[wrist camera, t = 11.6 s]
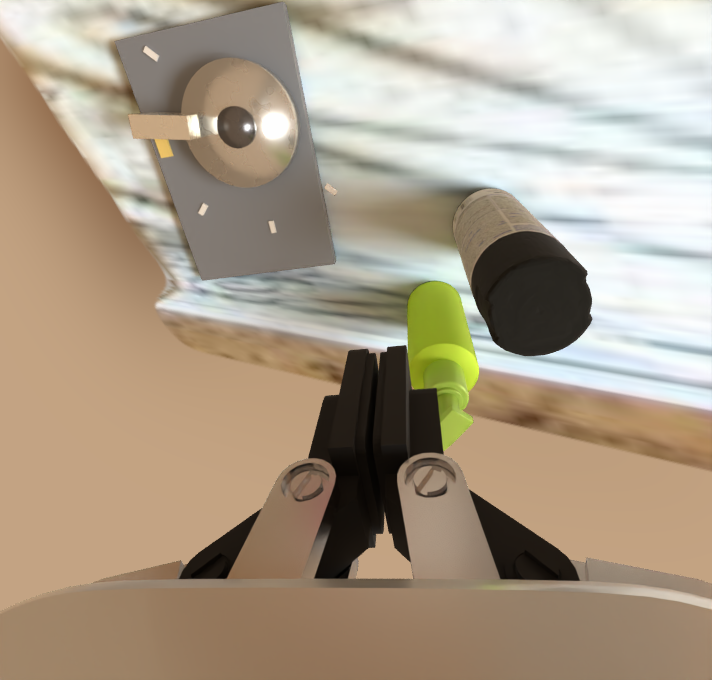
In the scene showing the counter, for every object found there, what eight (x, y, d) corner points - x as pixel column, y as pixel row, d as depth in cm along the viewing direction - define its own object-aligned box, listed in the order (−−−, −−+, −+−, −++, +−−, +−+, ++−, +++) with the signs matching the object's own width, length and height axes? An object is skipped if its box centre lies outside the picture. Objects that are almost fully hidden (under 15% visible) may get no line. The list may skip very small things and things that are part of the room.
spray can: (458, 261, 44) (492, 370, 27) (444, 197, 41) (472, 274, 24) (525, 243, 43) (605, 347, 26) (515, 175, 40) (599, 241, 23)
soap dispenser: (391, 318, 48) (384, 443, 31) (429, 270, 45) (443, 382, 28) (433, 344, 50) (447, 478, 33) (472, 299, 46) (512, 423, 29)
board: (122, 42, 37) (113, 40, 36) (306, -1, 35) (302, -4, 33) (206, 276, 48) (201, 281, 47) (351, 257, 45) (350, 262, 44)
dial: (297, 59, 36) (285, 56, 32) (302, 185, 41) (293, 194, 37) (142, 57, 37) (114, 54, 33) (166, 180, 42) (144, 188, 38)
